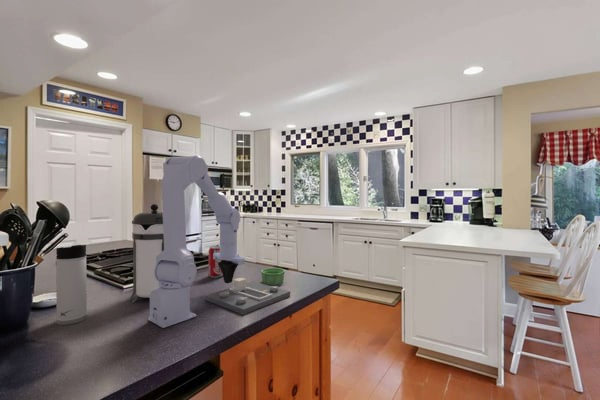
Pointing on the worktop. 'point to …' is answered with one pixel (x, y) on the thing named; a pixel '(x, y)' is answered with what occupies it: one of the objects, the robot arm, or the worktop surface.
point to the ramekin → (272, 276)
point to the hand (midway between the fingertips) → (228, 282)
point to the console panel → (248, 297)
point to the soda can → (214, 263)
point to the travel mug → (71, 284)
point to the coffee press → (146, 251)
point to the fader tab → (239, 284)
